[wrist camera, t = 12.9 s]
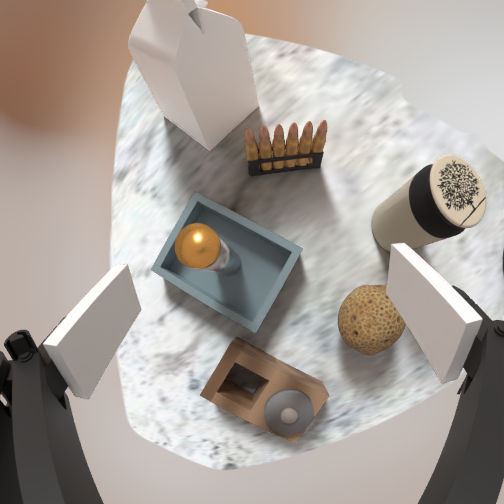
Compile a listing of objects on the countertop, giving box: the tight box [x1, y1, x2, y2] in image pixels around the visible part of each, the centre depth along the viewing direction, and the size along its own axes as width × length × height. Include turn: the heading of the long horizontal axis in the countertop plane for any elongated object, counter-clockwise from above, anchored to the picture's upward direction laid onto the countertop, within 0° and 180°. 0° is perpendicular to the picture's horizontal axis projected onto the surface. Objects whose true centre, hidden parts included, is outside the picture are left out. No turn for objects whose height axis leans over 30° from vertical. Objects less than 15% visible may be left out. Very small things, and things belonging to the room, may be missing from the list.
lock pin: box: [175, 223, 241, 276], centre depth 32 cm, size 4×4×16 cm
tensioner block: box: [200, 337, 329, 443], centre depth 34 cm, size 14×8×8 cm, turn 61°
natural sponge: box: [338, 285, 405, 355], centre depth 33 cm, size 9×9×10 cm
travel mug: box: [372, 155, 486, 252], centre depth 30 cm, size 8×8×18 cm
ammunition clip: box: [245, 120, 327, 176], centre depth 36 cm, size 11×2×12 cm, turn 97°
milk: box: [128, 0, 259, 151], centre depth 31 cm, size 12×12×26 cm
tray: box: [151, 192, 303, 333], centre depth 38 cm, size 16×12×4 cm
